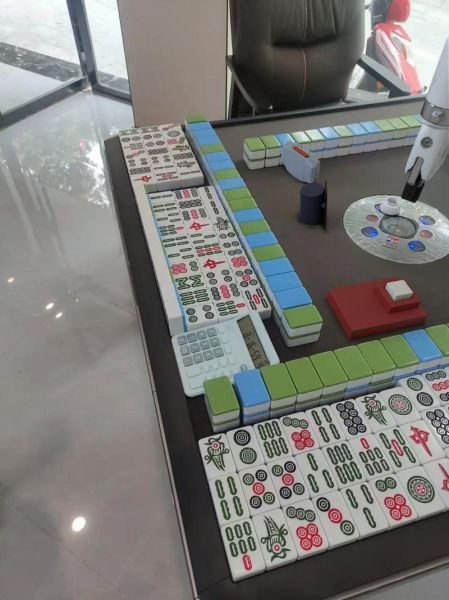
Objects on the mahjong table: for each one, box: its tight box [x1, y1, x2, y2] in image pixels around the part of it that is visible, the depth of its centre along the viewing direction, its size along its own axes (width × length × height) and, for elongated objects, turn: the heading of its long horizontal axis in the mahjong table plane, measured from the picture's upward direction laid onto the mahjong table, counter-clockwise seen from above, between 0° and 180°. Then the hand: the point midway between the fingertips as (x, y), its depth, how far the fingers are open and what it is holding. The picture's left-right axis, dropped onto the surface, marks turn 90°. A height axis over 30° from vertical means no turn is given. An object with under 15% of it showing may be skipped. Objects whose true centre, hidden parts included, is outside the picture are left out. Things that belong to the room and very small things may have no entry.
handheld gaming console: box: [280, 140, 321, 184], centre depth 118 cm, size 14×3×8 cm, turn 32°
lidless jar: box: [379, 196, 401, 216], centre depth 109 cm, size 5×3×5 cm
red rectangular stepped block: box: [326, 275, 429, 340], centre depth 86 cm, size 16×11×4 cm
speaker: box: [299, 180, 328, 230], centre depth 104 cm, size 8×6×10 cm
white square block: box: [385, 280, 413, 302], centre depth 85 cm, size 4×4×2 cm
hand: (409, 198), depth 89 cm, fingers closed
